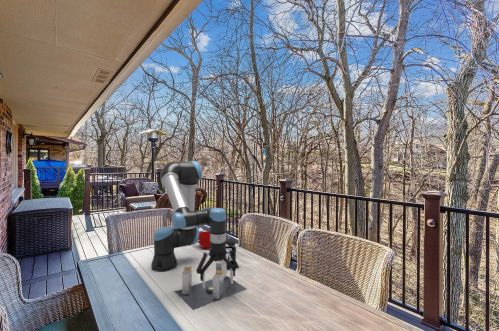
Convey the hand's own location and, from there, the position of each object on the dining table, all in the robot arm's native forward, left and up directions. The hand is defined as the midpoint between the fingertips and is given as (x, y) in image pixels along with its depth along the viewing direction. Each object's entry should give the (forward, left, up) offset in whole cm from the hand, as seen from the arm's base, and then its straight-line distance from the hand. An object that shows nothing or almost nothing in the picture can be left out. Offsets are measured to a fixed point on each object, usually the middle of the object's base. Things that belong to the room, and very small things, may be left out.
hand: (217, 284), depth 134 cm
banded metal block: (0, 0, -5) cm, 5 cm away
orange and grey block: (-13, -10, -5) cm, 17 cm away
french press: (-25, +23, -7) cm, 34 cm away
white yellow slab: (-13, +10, -5) cm, 17 cm away
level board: (-6, 0, -7) cm, 9 cm away
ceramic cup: (-65, +28, -7) cm, 72 cm away
